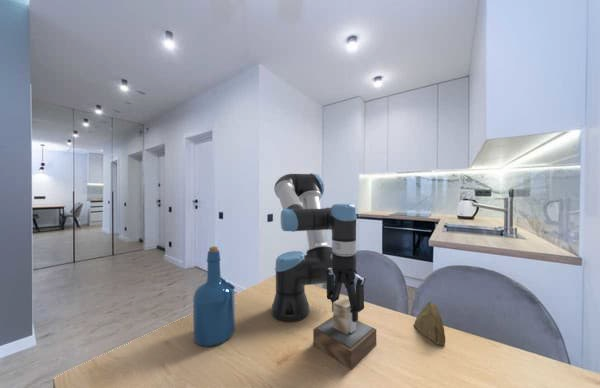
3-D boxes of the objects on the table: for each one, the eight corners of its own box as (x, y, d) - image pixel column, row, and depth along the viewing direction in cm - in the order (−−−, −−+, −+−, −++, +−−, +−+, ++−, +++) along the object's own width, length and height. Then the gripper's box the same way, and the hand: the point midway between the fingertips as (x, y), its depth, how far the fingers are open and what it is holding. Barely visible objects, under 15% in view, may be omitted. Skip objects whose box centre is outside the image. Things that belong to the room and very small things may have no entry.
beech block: (333, 327, 71) (333, 302, 71) (342, 321, 74) (342, 297, 74) (346, 334, 67) (346, 308, 67) (355, 327, 71) (355, 302, 71)
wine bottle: (199, 354, 67) (198, 254, 67) (188, 333, 78) (187, 246, 77) (242, 335, 76) (241, 247, 76) (227, 319, 86) (226, 240, 86)
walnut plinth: (313, 344, 71) (313, 328, 71) (339, 326, 81) (339, 311, 81) (351, 369, 61) (351, 350, 61) (376, 344, 71) (376, 328, 71)
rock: (456, 342, 68) (448, 320, 77) (437, 318, 69) (431, 299, 78) (424, 354, 72) (420, 332, 81) (406, 332, 73) (404, 312, 82)
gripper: (314, 250, 75) (315, 320, 75) (363, 261, 62) (364, 346, 62) (329, 246, 80) (329, 311, 80) (376, 256, 67) (377, 334, 67)
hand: (344, 326), depth 71 cm, fingers closed on beech block, 5 cm apart
